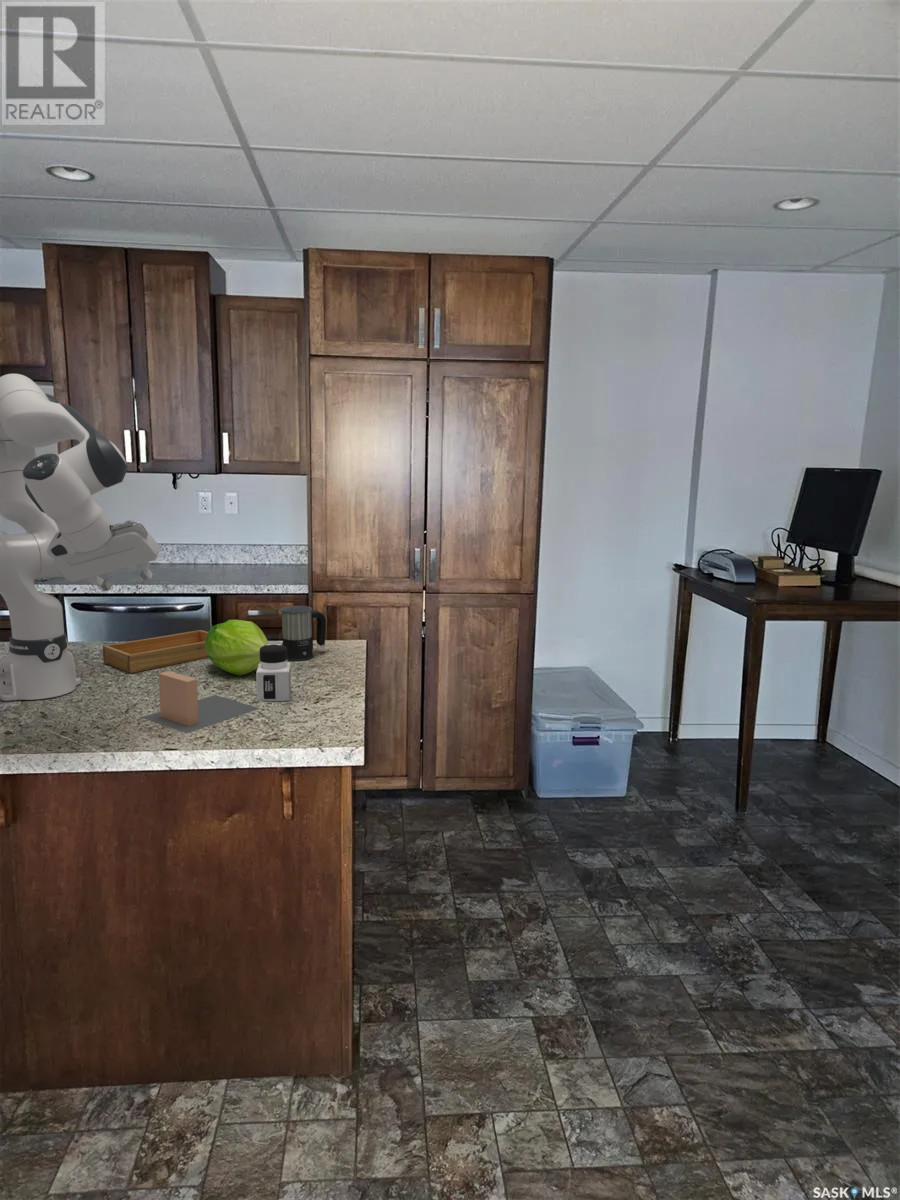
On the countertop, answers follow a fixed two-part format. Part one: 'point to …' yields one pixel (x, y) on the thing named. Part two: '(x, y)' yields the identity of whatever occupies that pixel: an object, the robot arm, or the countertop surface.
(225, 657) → the lettuce
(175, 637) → the tray
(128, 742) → the countertop surface
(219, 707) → the mat
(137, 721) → the countertop surface
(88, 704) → the countertop surface
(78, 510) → the robot arm
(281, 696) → the container
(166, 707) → the block
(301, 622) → the milk frother
